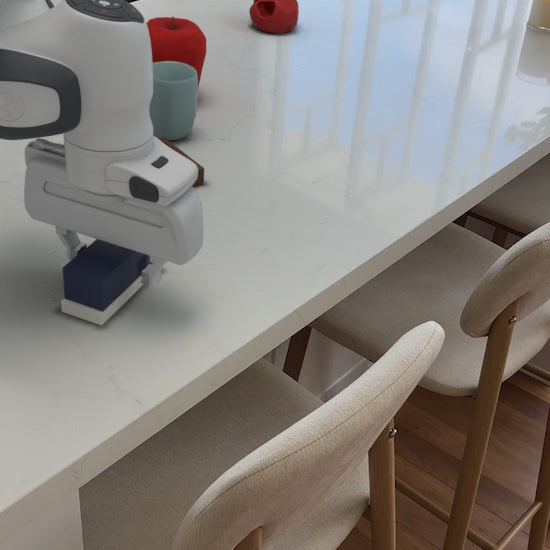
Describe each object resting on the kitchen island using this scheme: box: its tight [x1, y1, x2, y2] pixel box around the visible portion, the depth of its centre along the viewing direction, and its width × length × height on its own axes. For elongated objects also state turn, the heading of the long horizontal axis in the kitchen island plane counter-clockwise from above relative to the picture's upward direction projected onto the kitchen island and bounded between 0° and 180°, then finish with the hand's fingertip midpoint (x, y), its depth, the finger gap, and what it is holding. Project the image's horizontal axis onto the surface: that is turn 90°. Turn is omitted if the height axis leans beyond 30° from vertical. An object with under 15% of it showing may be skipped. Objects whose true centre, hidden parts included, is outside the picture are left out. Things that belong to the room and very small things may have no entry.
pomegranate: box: [248, 0, 300, 34], centre depth 173 cm, size 10×10×9 cm
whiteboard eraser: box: [60, 239, 155, 326], centre depth 97 cm, size 12×5×6 cm, turn 156°
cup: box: [149, 61, 198, 142], centre depth 130 cm, size 8×8×10 cm
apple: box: [146, 15, 207, 93], centre depth 139 cm, size 10×10×14 cm
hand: (113, 270), depth 98 cm, fingers open, 8 cm apart
